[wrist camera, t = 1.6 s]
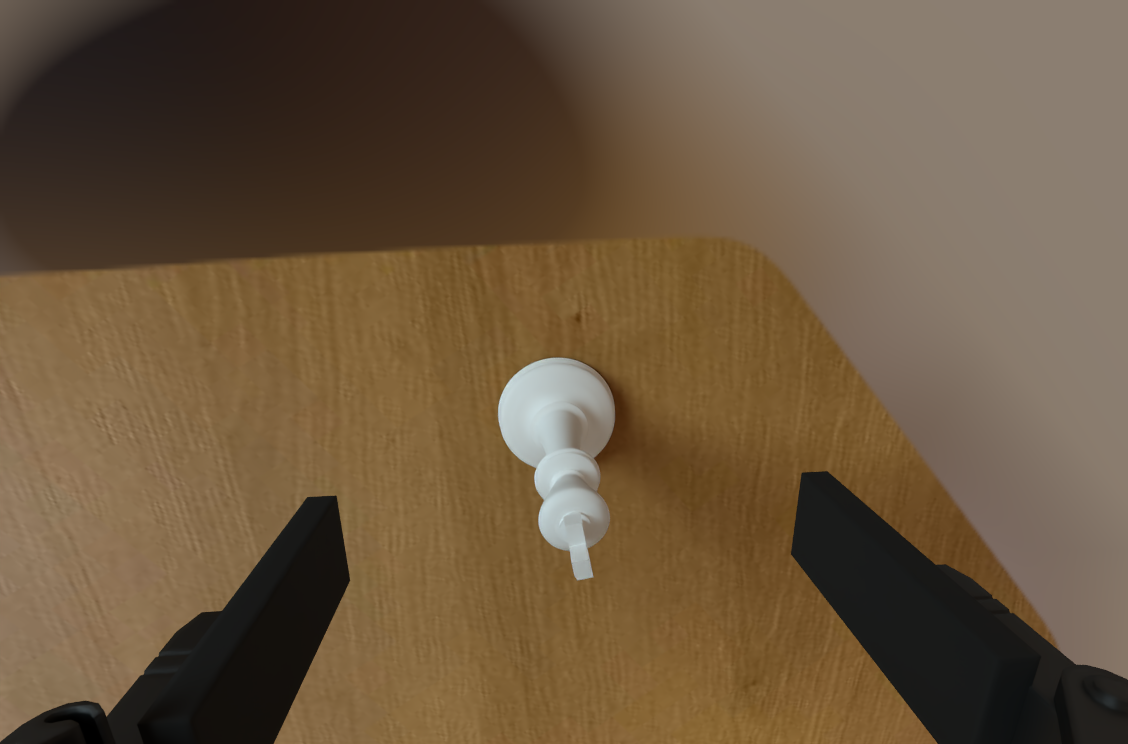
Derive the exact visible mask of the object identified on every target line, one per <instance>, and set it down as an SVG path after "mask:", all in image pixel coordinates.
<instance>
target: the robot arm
mask: <svg viewBox="0 0 1128 744" xmlns="http://www.w3.org/2000/svg"><path fill="white" fill-rule="evenodd" d="M791 555H792V556H793V557H794V558H795V560H796V561H797V562H798V564H799V565H800V566H801V568H802V569H803V570H804V571H805V573H806V574H807V575H808V577H809V578H810V579H811V580H812V582H813V583H814V584H815V586H816V587H817V588H818V589H819V591H820V592H821V593H822V595H823V596H824V597H825V598H826V600H827V601H828V602H829V604H830V605H831V606H832V608H833V609H834V610H835V611H836V613H837V614H838V615H839V617H840V618H841V619H842V620H843V622H844V623H845V624H846V626H847V627H848V628H849V629H850V631H851V632H852V633H853V635H854V636H855V637H856V638H857V640H858V641H859V642H860V644H861V645H862V646H863V647H864V649H865V650H866V651H867V653H868V654H869V655H870V657H871V658H872V659H873V660H874V662H875V663H876V664H877V666H878V667H879V668H880V669H881V671H882V672H883V673H884V675H885V676H886V677H887V678H888V680H889V681H890V682H891V684H892V685H893V686H894V687H895V689H896V690H897V691H898V693H899V694H900V695H901V697H902V698H903V699H904V700H905V702H906V703H907V704H908V706H909V707H910V708H911V709H912V711H913V712H914V713H915V715H916V716H917V717H918V718H919V720H920V721H921V722H922V724H923V725H924V726H925V727H926V729H927V730H928V731H929V733H930V734H931V735H932V736H933V738H934V739H935V740H936V742H937V743H938V744H1128V680H1127V679H1125V678H1123V677H1120V676H1118V675H1116V674H1113V673H1111V672H1109V671H1107V670H1103V669H1100V668H1096V667H1092V666H1088V665H1076V664H1074V663H1073V662H1072V661H1071V660H1070V659H1068V658H1067V657H1066V656H1064V654H1062V653H1061V652H1060V651H1059V650H1057V649H1056V648H1055V647H1054V646H1053V645H1051V644H1050V643H1049V642H1048V641H1047V640H1045V639H1044V638H1043V637H1042V636H1040V635H1039V634H1038V633H1037V632H1036V631H1034V630H1033V629H1032V628H1031V627H1030V626H1028V625H1027V624H1026V623H1025V622H1024V621H1022V620H1021V619H1020V618H1019V617H1017V616H1016V615H1015V614H1014V613H1010V612H1009V609H1008V608H1007V607H1005V606H1004V605H1003V604H1002V603H1000V602H999V601H998V600H997V599H993V598H992V595H991V594H990V593H988V592H987V591H986V590H985V589H984V588H982V587H981V586H980V585H979V584H977V583H976V582H975V581H974V580H973V579H971V578H970V577H968V576H966V575H964V574H962V573H960V572H958V571H957V570H955V569H953V568H951V567H949V566H947V565H946V564H944V565H935V564H934V563H933V562H932V561H930V560H929V559H928V558H927V557H926V556H925V555H924V554H922V553H921V552H920V551H919V550H918V549H917V548H915V547H914V546H913V545H912V544H911V543H910V542H908V541H907V540H906V539H905V538H904V537H903V536H902V535H900V534H899V533H898V532H897V531H896V530H895V529H893V528H892V527H891V526H890V525H889V524H888V523H886V522H885V521H884V520H883V519H882V518H881V517H880V516H878V515H877V514H876V513H875V512H874V511H873V510H871V509H870V508H869V507H868V506H867V505H866V504H864V503H863V502H862V501H861V500H860V499H859V498H858V497H856V496H855V495H854V494H853V493H852V492H851V491H849V490H848V489H847V488H846V487H845V486H844V485H842V484H841V483H840V482H839V481H838V480H837V479H836V478H834V477H833V476H832V475H831V474H830V473H829V472H827V471H825V472H805V473H802V475H801V482H800V490H799V497H798V505H797V512H796V520H795V527H794V535H793V543H792V550H791ZM349 582H350V577H349V570H348V564H347V558H346V552H345V546H344V539H343V533H342V527H341V521H340V515H339V508H338V502H337V496H321V497H307V499H306V500H305V501H304V503H303V504H302V505H301V507H300V508H299V509H298V511H297V512H296V513H295V515H294V516H293V517H292V519H291V520H290V521H289V523H288V524H287V525H286V527H285V528H284V529H283V531H282V532H281V533H280V535H279V536H278V537H277V539H276V540H275V541H274V543H273V544H272V545H271V547H270V548H269V549H268V551H267V552H266V553H265V555H264V556H263V557H262V559H261V560H260V561H259V563H258V564H257V565H256V567H255V568H254V569H253V571H252V572H251V573H250V575H249V576H248V577H247V579H246V580H245V581H244V583H243V584H242V585H241V586H240V588H239V589H238V590H237V592H236V593H235V594H234V596H233V597H232V598H231V600H230V601H229V602H228V604H227V605H226V606H225V608H224V609H223V610H222V611H217V612H202V613H201V614H199V615H198V616H197V617H195V618H194V619H193V620H191V621H190V622H189V623H187V624H186V625H185V626H183V627H182V628H181V629H179V630H178V631H177V632H176V633H175V634H174V635H173V637H172V638H171V639H170V640H169V642H168V643H167V644H166V645H165V646H164V648H163V649H162V650H161V651H160V653H159V656H158V657H155V659H154V660H153V661H152V662H151V663H150V665H149V666H148V667H147V668H146V670H145V671H144V675H141V676H140V677H139V678H138V679H137V680H136V682H135V683H134V684H133V685H132V687H131V688H130V689H129V690H128V691H127V693H126V694H125V695H124V696H123V698H122V699H121V700H120V701H119V702H118V704H117V705H116V706H115V707H114V708H113V710H112V711H111V712H110V713H109V715H108V716H107V717H106V715H105V712H104V710H103V709H102V708H101V706H100V705H99V703H94V702H89V701H80V702H74V703H68V704H65V705H62V706H59V707H57V708H54V709H51V710H49V711H46V712H44V713H42V714H40V715H39V716H37V717H35V718H33V719H31V720H30V721H28V722H26V723H24V724H23V725H21V726H20V727H19V728H17V729H16V730H15V731H14V732H12V733H11V734H10V735H8V736H7V737H6V738H5V739H3V740H2V741H1V742H0V744H274V742H275V740H276V738H277V735H278V733H279V731H280V729H281V727H282V725H283V723H284V720H285V718H286V716H287V714H288V712H289V710H290V708H291V705H292V703H293V701H294V699H295V697H296V695H297V693H298V691H299V688H300V686H301V684H302V682H303V680H304V678H305V676H306V673H307V671H308V669H309V667H310V665H311V663H312V661H313V658H314V656H315V654H316V652H317V650H318V648H319V646H320V644H321V641H322V639H323V637H324V635H325V633H326V631H327V629H328V626H329V624H330V622H331V620H332V618H333V616H334V614H335V612H336V609H337V607H338V605H339V603H340V601H341V599H342V597H343V594H344V592H345V590H346V588H347V586H348V584H349Z"/></svg>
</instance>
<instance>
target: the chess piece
mask: <svg viewBox="0 0 1128 744" xmlns="http://www.w3.org/2000/svg"><path fill="white" fill-rule="evenodd" d="M498 419H499V425H500V428H501V432H502V435H503V438H504V440H505V442H506V444H507V446H508V447H509V448H510V450H511V451H512V452H513V453H514V454H515V455H516V456H517V457H518V458H519V459H521V460H522V461H523V462H525V463H527V464H529V465H531V466H533V467H536V471H535V478H534V479H535V486H536V489H537V491H538V493H539V494H540V495H541V497H542V498H543V499H544V502H543V504H542V507H541V509H540V513H539V528H540V531H541V533H542V535H543V537H544V538H545V539H546V540H547V541H548V542H549V543H550V544H551V545H553V546H554V547H556V548H559V549H562V550H566V551H570V555H571V562H572V567H573V571H574V576H575V577H576V579H577V580H582V579H586V578H591V577H593V573H592V568H591V563H590V558H589V553H588V548H589V547H591V546H593V545H595V544H596V543H597V542H599V541H600V540H601V539H602V537H603V536H604V535H605V533H606V531H607V529H608V526H609V522H610V513H609V509H608V506H607V504H606V502H605V501H604V499H603V498H602V497H601V496H600V495H599V494H598V493H597V492H596V491H597V489H598V486H599V483H600V470H599V466H598V464H597V462H596V461H595V460H594V457H596V456H597V455H598V454H599V453H600V452H601V451H602V450H603V448H604V447H605V446H606V444H607V443H608V441H609V439H610V437H611V434H612V432H613V428H614V423H615V405H614V399H613V396H612V393H611V390H610V388H609V386H608V385H607V383H606V381H605V380H604V379H603V378H602V376H601V375H600V374H599V373H598V372H596V371H595V370H594V369H593V368H591V367H590V366H588V365H586V364H584V363H582V362H579V361H576V360H573V359H568V358H548V359H543V360H539V361H536V362H534V363H532V364H530V365H528V366H526V367H524V368H523V369H521V370H520V371H519V372H518V373H516V374H515V375H514V376H513V377H512V379H511V380H510V381H509V382H508V384H507V385H506V387H505V389H504V391H503V393H502V395H501V398H500V402H499V408H498Z"/></svg>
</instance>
